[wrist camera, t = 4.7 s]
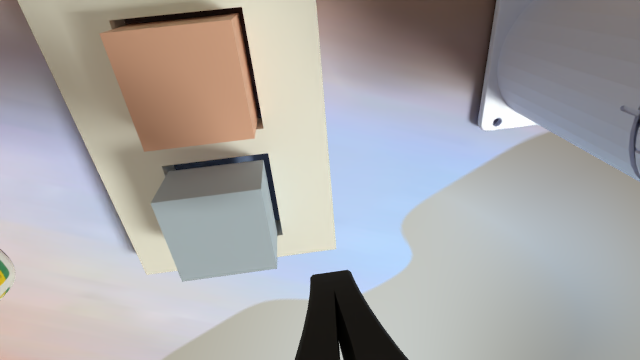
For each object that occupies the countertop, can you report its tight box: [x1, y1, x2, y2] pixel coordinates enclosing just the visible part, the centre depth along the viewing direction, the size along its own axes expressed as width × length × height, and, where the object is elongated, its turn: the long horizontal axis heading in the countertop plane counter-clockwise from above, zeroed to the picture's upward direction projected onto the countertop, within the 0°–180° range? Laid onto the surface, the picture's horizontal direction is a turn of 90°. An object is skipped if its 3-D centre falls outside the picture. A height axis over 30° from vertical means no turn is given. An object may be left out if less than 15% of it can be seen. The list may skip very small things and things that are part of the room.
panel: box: [17, 0, 336, 275], centre depth 17 cm, size 12×23×2 cm, turn 5°
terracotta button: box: [99, 13, 258, 152], centre depth 16 cm, size 5×5×3 cm
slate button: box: [151, 160, 277, 282], centre depth 18 cm, size 5×5×3 cm
